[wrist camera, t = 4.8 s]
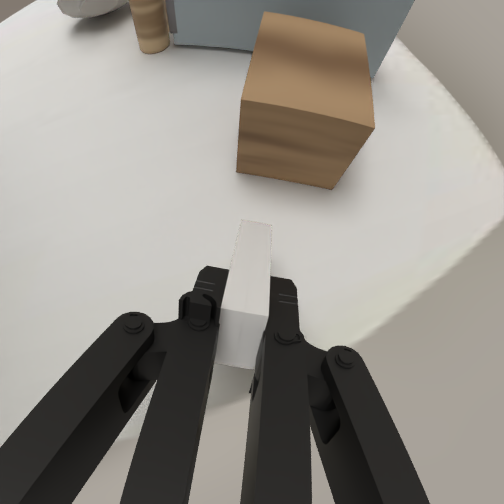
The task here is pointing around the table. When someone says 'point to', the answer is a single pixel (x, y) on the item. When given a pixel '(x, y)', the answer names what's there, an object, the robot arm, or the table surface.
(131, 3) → the brown long wooden part
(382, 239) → the table surface
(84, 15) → the headphones
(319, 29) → the walnut block
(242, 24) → the door
